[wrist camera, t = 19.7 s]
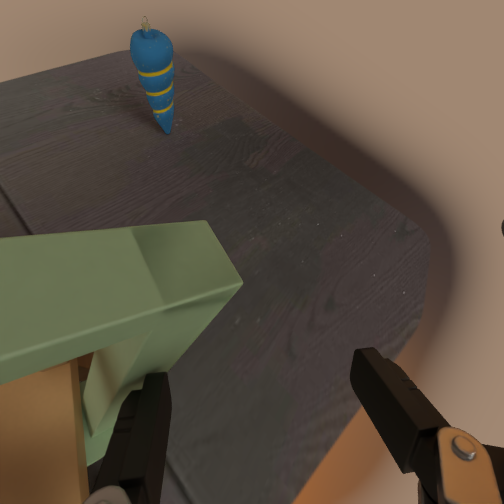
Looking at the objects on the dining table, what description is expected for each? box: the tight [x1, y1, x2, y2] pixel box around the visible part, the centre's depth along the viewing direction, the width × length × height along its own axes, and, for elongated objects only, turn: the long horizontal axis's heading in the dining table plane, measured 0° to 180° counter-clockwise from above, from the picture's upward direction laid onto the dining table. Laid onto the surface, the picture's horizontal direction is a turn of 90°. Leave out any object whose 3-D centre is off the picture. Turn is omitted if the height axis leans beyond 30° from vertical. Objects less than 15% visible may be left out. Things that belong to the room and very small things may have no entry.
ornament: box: [130, 16, 174, 134], centre depth 37 cm, size 5×5×15 cm
